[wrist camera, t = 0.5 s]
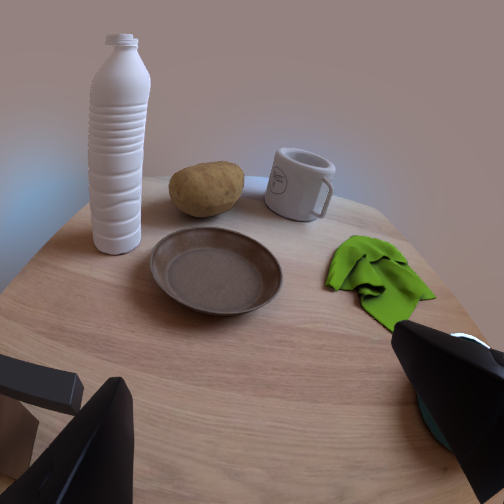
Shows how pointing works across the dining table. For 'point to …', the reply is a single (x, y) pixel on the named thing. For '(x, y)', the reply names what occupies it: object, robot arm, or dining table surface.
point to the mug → (299, 184)
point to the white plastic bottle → (117, 146)
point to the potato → (207, 188)
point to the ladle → (40, 385)
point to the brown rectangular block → (15, 437)
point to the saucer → (216, 270)
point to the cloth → (378, 279)
